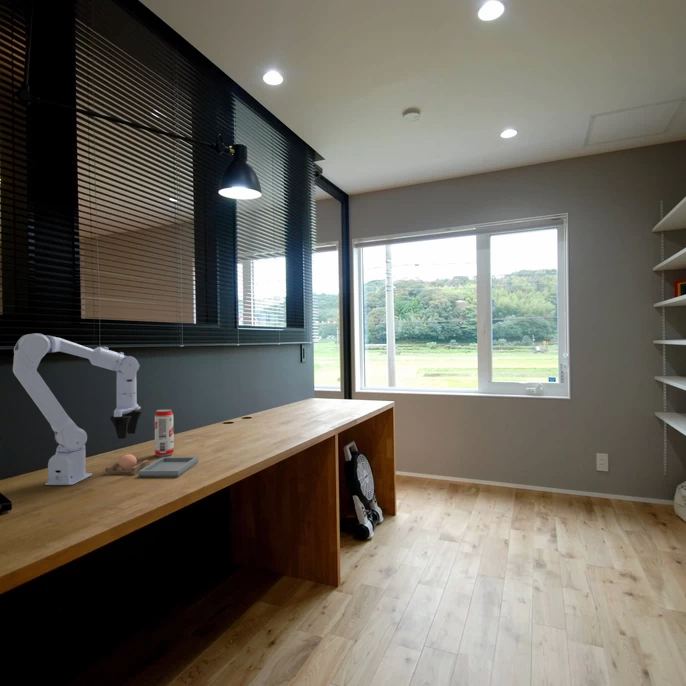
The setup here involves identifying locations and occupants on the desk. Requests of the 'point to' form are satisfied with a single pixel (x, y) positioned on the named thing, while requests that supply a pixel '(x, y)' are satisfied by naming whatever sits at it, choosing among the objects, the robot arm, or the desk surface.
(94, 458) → the desk surface
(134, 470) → the frame
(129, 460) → the ball
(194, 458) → the tray
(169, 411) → the beer can
